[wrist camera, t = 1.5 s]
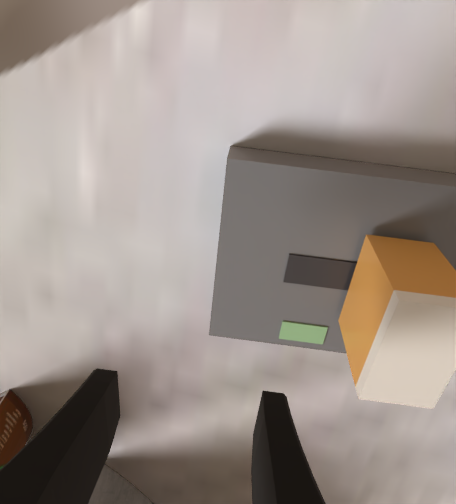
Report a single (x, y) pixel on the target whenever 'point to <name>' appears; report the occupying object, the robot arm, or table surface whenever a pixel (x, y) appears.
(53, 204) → the table surface
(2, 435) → the food container
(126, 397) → the table surface
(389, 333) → the knob
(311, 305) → the panel
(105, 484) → the hip flask
